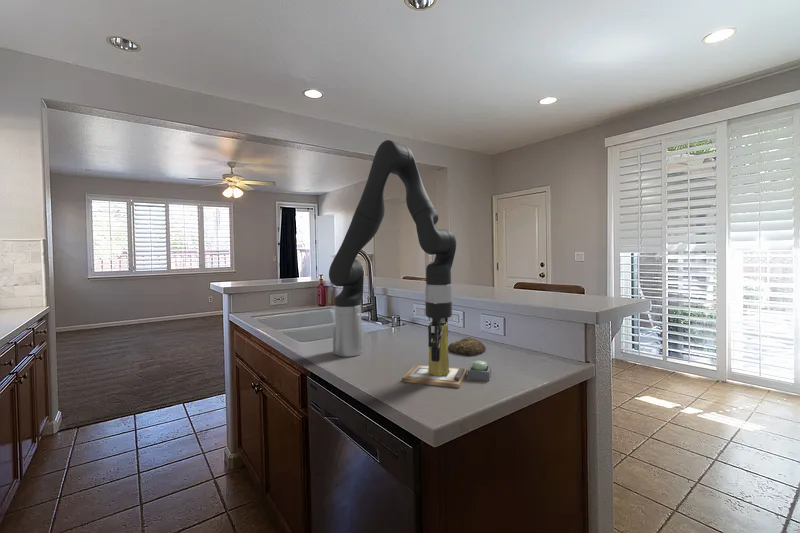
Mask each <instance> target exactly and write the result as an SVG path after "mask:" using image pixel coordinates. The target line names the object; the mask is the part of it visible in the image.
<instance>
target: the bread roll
mask: <svg viewBox="0 0 800 533" xmlns="http://www.w3.org/2000/svg"><path fill="white" fill-rule="evenodd" d="M486 350H487V349H486V345H485V344H484V343H483V342H482V341H480V340H479V339H477V338H471V337H470V336H469V337H465V338H461V339H460V340H456V341H454V342H450V343H448V352H449V351H450V352H452V353H455V354H459V355H464V356H468V357H472V356H479V355H481V354H483V353H485V352H486Z"/></svg>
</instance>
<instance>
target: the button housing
mask: <svg viewBox="0 0 800 533" xmlns="http://www.w3.org/2000/svg"><path fill="white" fill-rule="evenodd" d="M466 376H467V380H473V381H475V380H476V381H482V382H483V381H484V382H490V380H491V377H492V365H488V364H487V371H478V370H473V363H470V365H469V366H468V369H467V374H466Z"/></svg>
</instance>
